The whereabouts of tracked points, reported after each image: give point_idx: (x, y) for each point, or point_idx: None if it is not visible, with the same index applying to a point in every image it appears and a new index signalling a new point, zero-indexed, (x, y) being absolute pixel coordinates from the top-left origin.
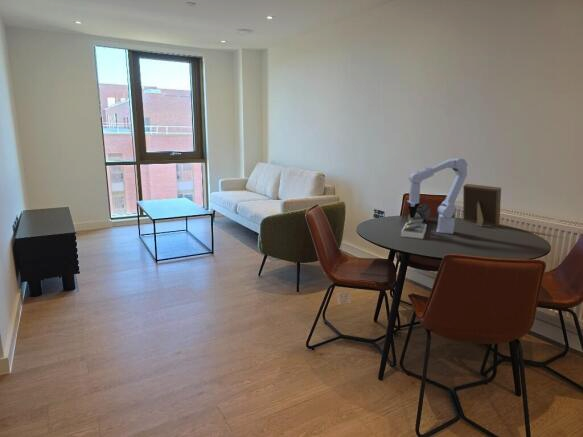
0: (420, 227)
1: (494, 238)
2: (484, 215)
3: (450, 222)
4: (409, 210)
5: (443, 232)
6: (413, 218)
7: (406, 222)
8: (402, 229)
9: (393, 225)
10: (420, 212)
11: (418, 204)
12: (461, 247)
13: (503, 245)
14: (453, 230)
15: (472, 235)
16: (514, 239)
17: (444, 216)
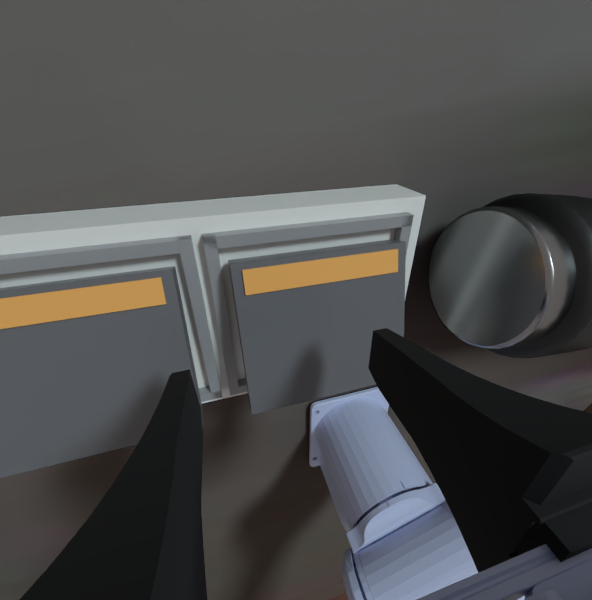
0: (226, 373)
1: (309, 550)
2: None
3: (344, 517)
4: (102, 501)
5: (310, 434)
6: (479, 270)
7: (424, 197)
8: (9, 237)
9: (441, 20)
10: (543, 355)
11: (481, 565)
12: (26, 571)
13: (214, 594)
14: (325, 478)
15: (323, 506)
16: (324, 572)
17: (353, 551)
